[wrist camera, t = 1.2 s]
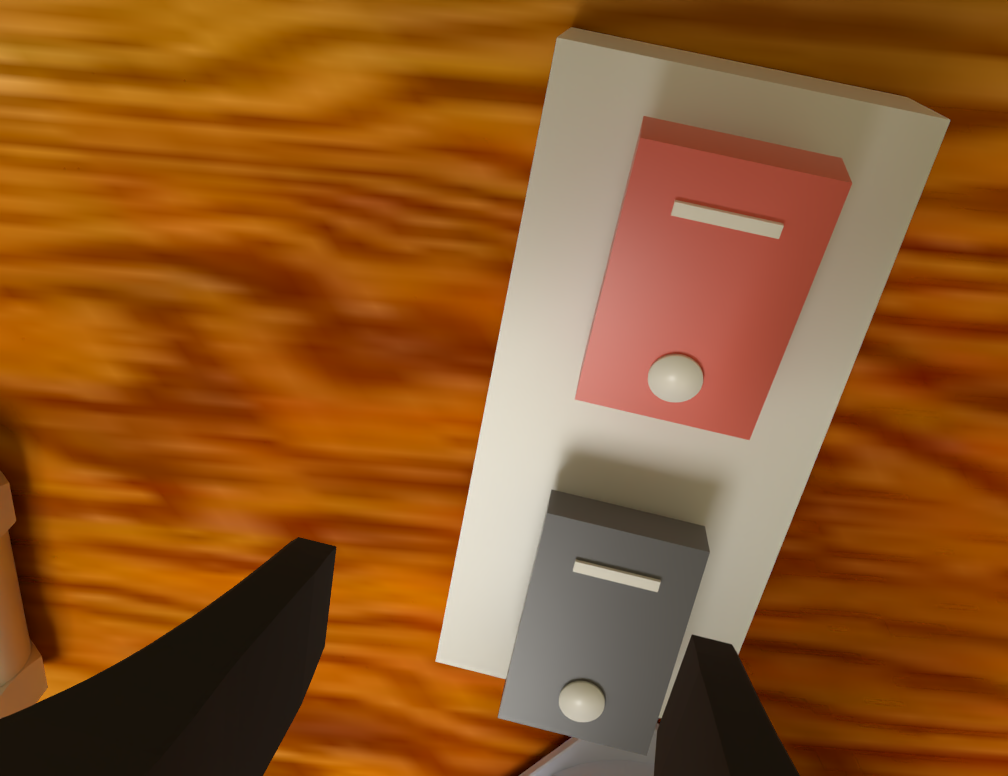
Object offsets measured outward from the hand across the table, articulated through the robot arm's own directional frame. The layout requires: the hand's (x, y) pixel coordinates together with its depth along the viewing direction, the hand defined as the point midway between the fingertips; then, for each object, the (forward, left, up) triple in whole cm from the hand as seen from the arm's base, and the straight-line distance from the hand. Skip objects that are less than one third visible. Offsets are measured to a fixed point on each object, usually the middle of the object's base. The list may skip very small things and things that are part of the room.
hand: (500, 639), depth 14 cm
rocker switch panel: (-1, -1, -9) cm, 10 cm away
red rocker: (+1, -5, -5) cm, 7 cm away
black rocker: (-3, +2, -5) cm, 6 cm away
